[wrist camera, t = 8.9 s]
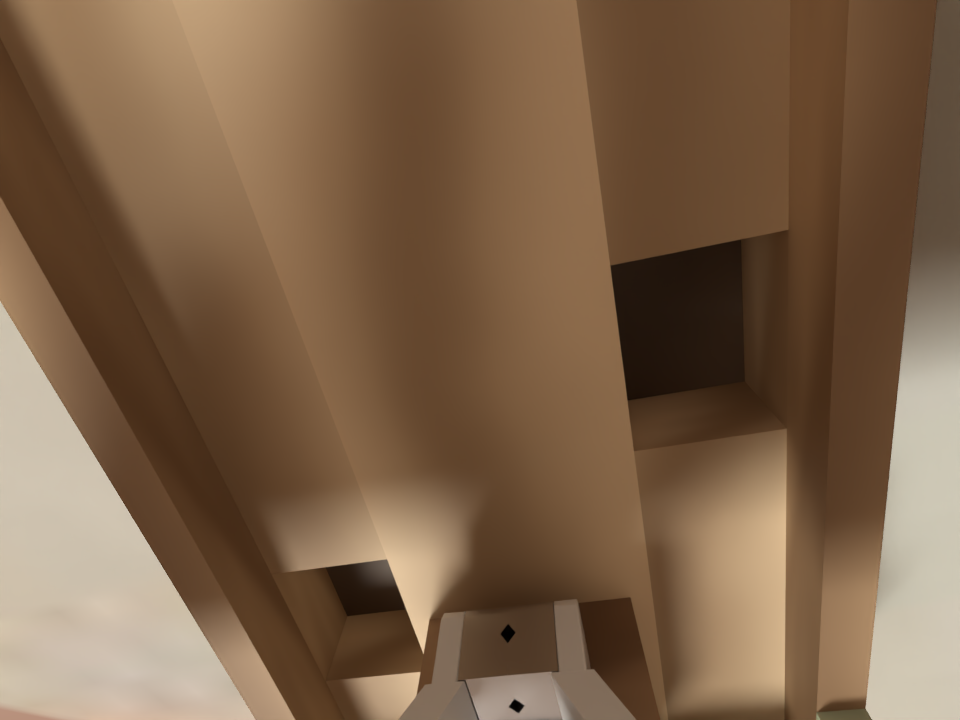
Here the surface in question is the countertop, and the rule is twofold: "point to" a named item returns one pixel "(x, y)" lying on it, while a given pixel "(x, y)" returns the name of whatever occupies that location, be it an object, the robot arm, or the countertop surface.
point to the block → (595, 654)
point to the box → (481, 319)
